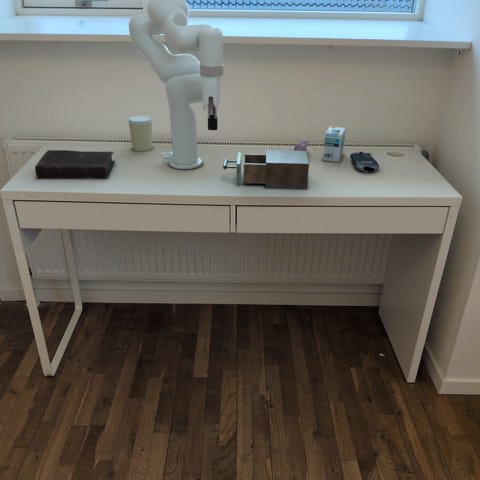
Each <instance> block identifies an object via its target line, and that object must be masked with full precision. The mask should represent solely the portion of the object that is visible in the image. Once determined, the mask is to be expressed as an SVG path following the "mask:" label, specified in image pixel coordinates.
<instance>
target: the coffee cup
mask: <svg viewBox="0 0 480 480" xmlns="http://www.w3.org/2000/svg"><path fill="white" fill-rule="evenodd" d="M127 122H128V127H129V131H130V132H129V133H130V140H131V143H132V144H131V145H132V149H133V150H134V151H137V152H148V151H151V150H152V148H153V129H152V127H153V126H152V124H153V123H152V122H153V120H152V118H151V117H150V116H148V115H133V116H130V117H129V118H128V120H127Z"/></svg>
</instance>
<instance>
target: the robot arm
mask: <svg viewBox="0 0 480 480" xmlns="http://www.w3.org/2000/svg"><path fill="white" fill-rule="evenodd" d="M189 16H190V7H189V4H188V2H187V0H149V1H148V4H147V7H146V12H140V13H138V14H135V15H133V16H132V17H131V18H130V19H129V21H128V33H129V36H130V40H131V42H132V44H133V46H134V47H135V49H136V50H137V52H138V53H139V55H141V56H142V57H143V58H144V59H145V60H146V61H147V63H148V64H149V66H150V67H151V68H152V70H153V71H154V73H155V74H156V75H157V77H158V79H159V80H160V81H161V82H162V83H163V84H165V95H166V98H167V103H168V109H169V119H170V136H171V151H169V152H161V153H160V158H163V160H169V161H168V165H169V166H170V167H171V168H173V169H178V170H192V169H197V168H199V167H201V166H202V164H203V161H202V159H201V158H200V157H198V131H197V127H198V126H197V115H196V112H195V111H194V110H193V108H192V107H191V104H196V103H202V110H203V111H206V110H207V131H218V123H219V121H218V109H219V106H220V98H221V97H220V96H221V94H220V93H221V88H220V87H221V86H220V85H221V80H220V79H221V78H223V77H224V34H223V31H222V29H221V28H219V27H213V26H212V25H210V24H207V23H205V24H203V23H202V24H188V22H189V21H188V19H189ZM160 34H164V37H165V38H164V39H165V42H166V44H167V45H168V46H169V47H171V48H172V49H173V50H174V51H176V52H179V53H181V54H174V53H171V51H170V50H169V49H168V47H167V46H166V45H165V44H164V43H162V42H160V40H157V39H154V38H153V37H152V35H160ZM191 52H198V54H199V55H198V56H199V59H198V58H197V57H195V55H193V54H190V53H191Z"/></svg>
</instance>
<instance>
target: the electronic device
mask: <svg viewBox="0 0 480 480" xmlns="http://www.w3.org/2000/svg"><path fill="white" fill-rule="evenodd" d="M349 158H350V160H351V161H352V163H353V166H354V168H355V170H357V171H359V172H362V173H373V172H376V171H378V170H379V168H380V165H379V162H378V161H377V160H376V159H375V158H374V157H373V156H372V152H364V151H359V152H358V151H357V152H351V153H350V154H349Z"/></svg>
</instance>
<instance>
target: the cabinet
mask: <svg viewBox="0 0 480 480" xmlns="http://www.w3.org/2000/svg"><path fill="white" fill-rule="evenodd" d="M307 151H308V150H307ZM307 151H295V150H281V149H280V150H279V149H278V150H277V149H276V150H273V149H265V154H266V178H265V184H264V189H276V190H277V189H278V190H279V189H280V190H283V189H284V190H308V183H309V182H308V181H309V170H310V162H309V157H308V152H307Z"/></svg>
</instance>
